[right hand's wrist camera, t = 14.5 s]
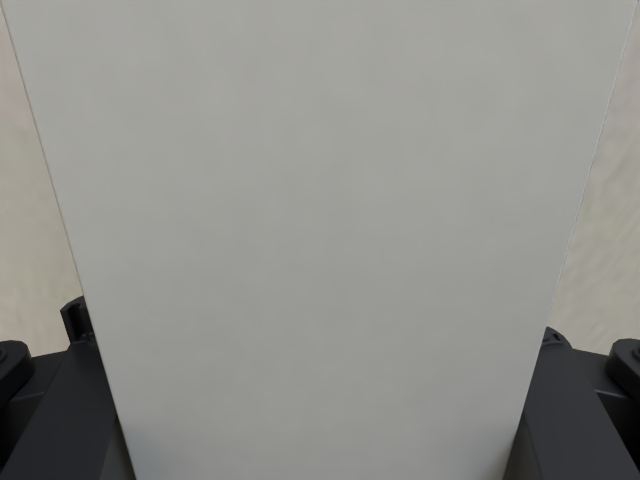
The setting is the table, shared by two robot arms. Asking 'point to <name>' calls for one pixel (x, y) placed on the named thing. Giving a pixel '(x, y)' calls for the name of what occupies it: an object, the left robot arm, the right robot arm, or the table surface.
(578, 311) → the table surface
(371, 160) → the box
